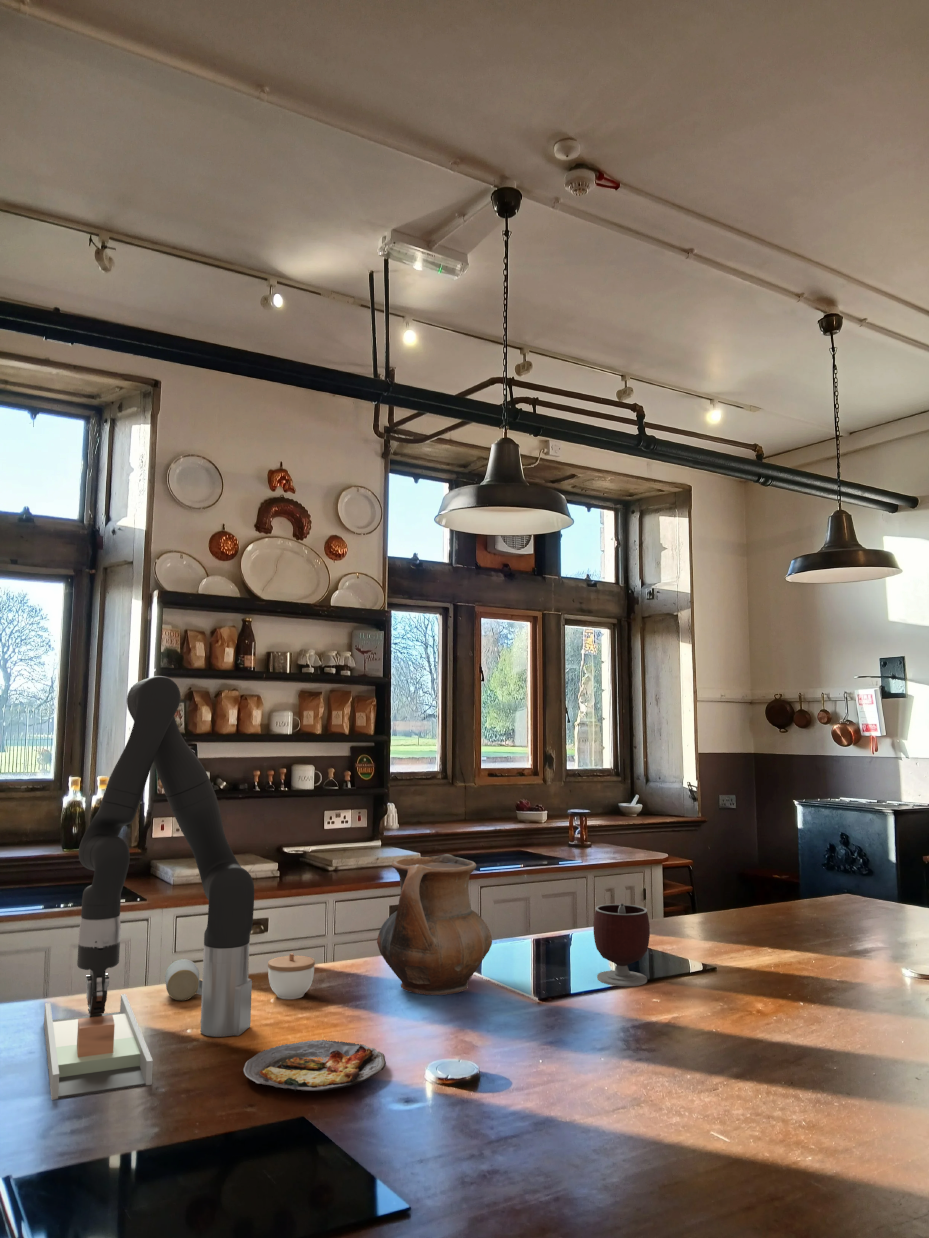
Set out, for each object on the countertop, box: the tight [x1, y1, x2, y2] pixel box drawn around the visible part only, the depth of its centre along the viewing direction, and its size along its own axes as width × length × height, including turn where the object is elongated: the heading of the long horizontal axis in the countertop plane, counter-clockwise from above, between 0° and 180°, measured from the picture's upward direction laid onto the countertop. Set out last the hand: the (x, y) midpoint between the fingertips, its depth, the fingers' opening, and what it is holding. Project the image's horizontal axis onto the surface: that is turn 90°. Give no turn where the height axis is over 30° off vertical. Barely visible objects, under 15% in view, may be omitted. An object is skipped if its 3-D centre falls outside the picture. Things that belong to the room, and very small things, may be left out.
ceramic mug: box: [164, 958, 202, 1002], centre depth 214 cm, size 11×8×8 cm
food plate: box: [243, 1039, 387, 1092], centre depth 167 cm, size 25×23×4 cm
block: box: [77, 1015, 115, 1057], centre depth 171 cm, size 6×6×5 cm
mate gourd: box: [593, 902, 651, 987], centre depth 231 cm, size 16×14×20 cm
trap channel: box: [43, 993, 154, 1101], centre depth 178 cm, size 44×16×4 cm, turn 26°
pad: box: [56, 1037, 140, 1077], centre depth 171 cm, size 10×14×2 cm
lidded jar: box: [267, 952, 316, 1000], centre depth 215 cm, size 11×11×9 cm
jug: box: [376, 853, 493, 996], centre depth 226 cm, size 32×28×30 cm
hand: (94, 1034), depth 176 cm, fingers closed
